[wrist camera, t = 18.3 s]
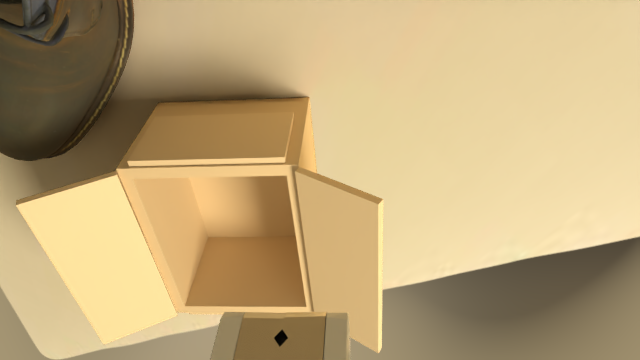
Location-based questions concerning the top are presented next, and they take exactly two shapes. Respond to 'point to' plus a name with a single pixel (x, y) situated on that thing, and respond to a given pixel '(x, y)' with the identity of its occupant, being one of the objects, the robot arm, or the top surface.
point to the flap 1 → (100, 254)
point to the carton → (225, 202)
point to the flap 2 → (344, 252)
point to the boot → (58, 70)
